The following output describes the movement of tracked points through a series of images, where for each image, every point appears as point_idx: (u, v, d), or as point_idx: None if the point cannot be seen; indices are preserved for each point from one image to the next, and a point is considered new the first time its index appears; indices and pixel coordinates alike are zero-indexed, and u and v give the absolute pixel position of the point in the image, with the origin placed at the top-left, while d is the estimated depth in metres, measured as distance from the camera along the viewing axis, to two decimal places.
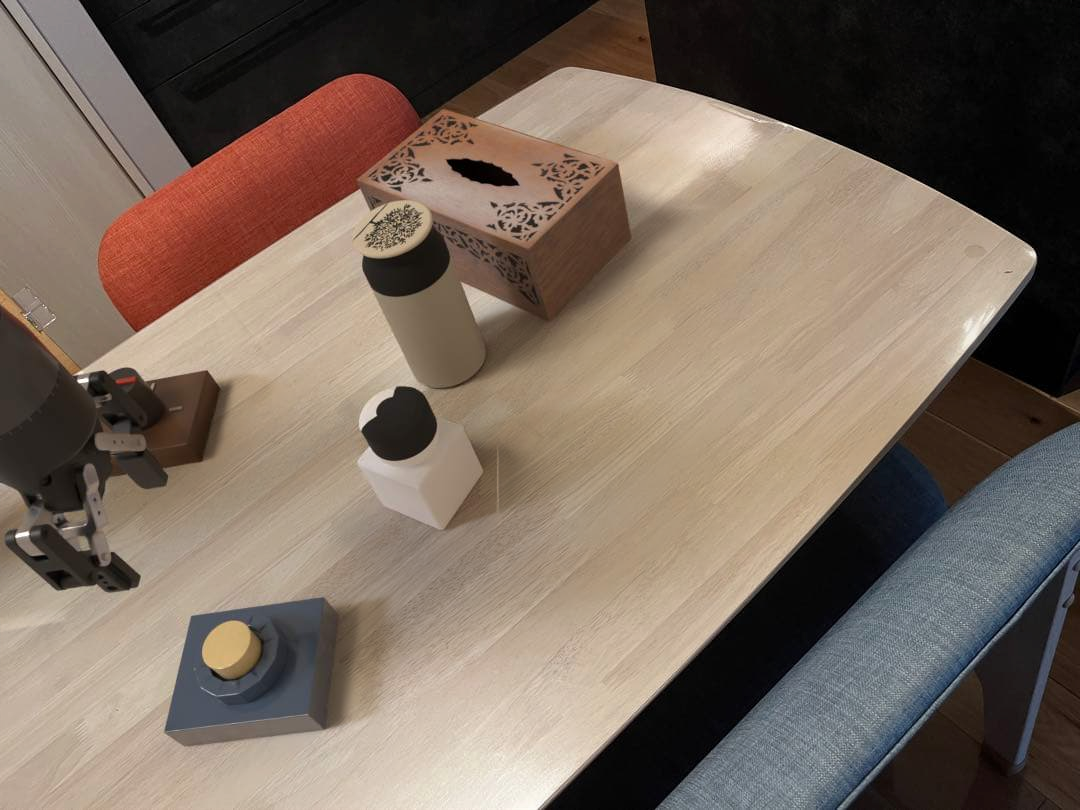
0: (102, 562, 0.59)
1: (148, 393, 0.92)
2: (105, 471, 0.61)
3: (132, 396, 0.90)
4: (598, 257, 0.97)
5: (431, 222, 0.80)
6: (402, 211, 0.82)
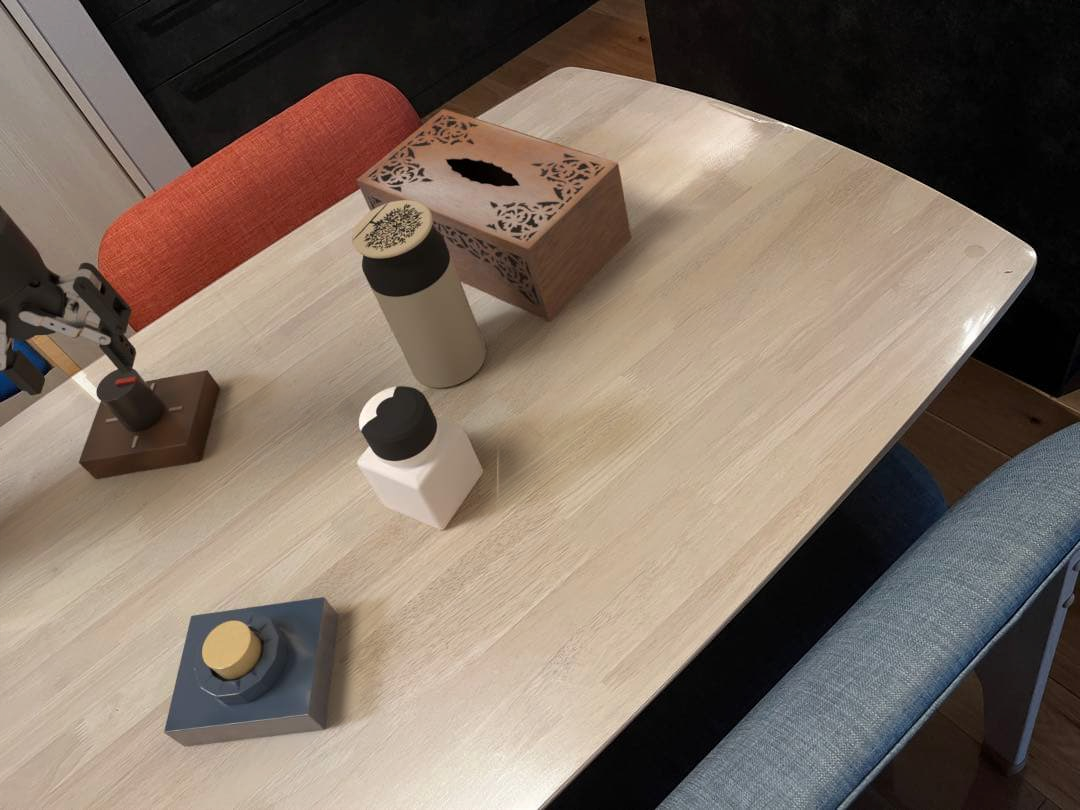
0: None
1: (148, 393, 0.92)
2: (38, 331, 0.74)
3: (132, 396, 0.90)
4: (598, 257, 0.97)
5: (431, 222, 0.80)
6: (402, 211, 0.82)
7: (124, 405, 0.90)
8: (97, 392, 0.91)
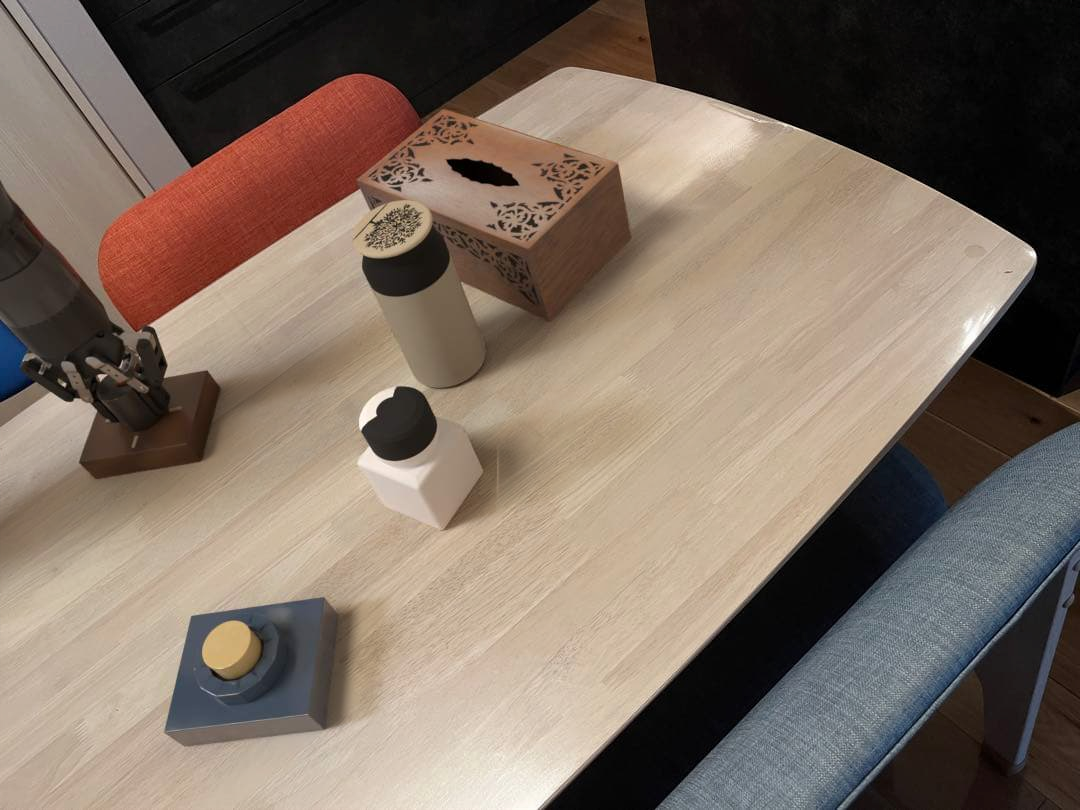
0: (82, 399, 0.91)
1: None
2: (100, 371, 0.88)
3: (132, 396, 0.90)
4: (598, 257, 0.97)
5: (431, 222, 0.80)
6: (402, 211, 0.82)
7: (124, 405, 0.90)
8: (97, 392, 0.91)
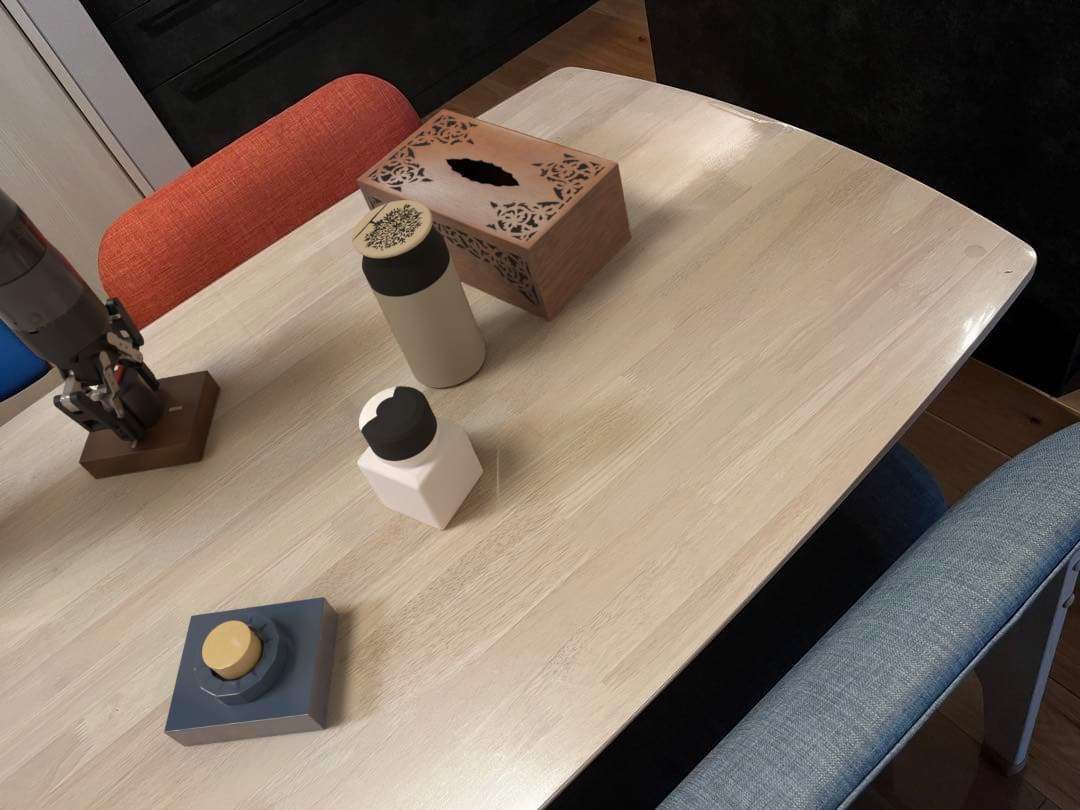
0: (119, 415, 0.88)
1: None
2: (114, 360, 0.89)
3: None
4: (598, 257, 0.97)
5: (431, 222, 0.80)
6: (402, 211, 0.82)
7: (144, 382, 0.92)
8: None
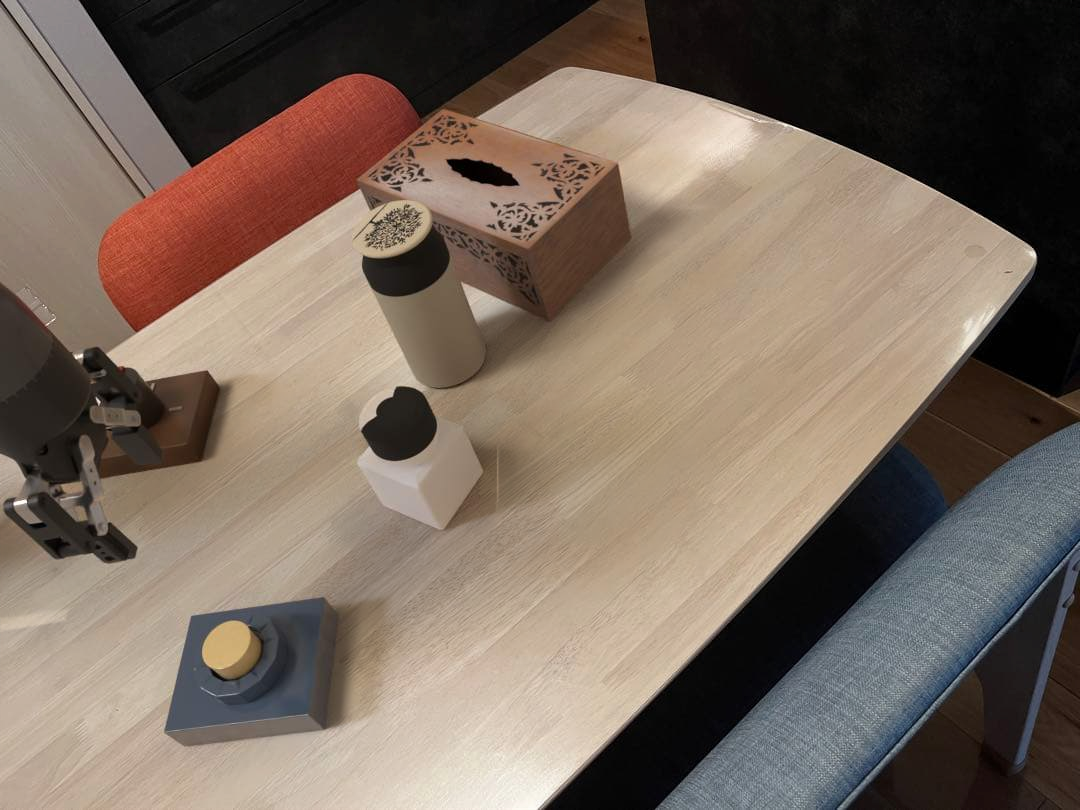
0: (99, 531, 0.61)
1: None
2: (101, 444, 0.63)
3: None
4: (598, 257, 0.97)
5: (431, 222, 0.80)
6: (402, 211, 0.82)
7: (144, 382, 0.92)
8: None
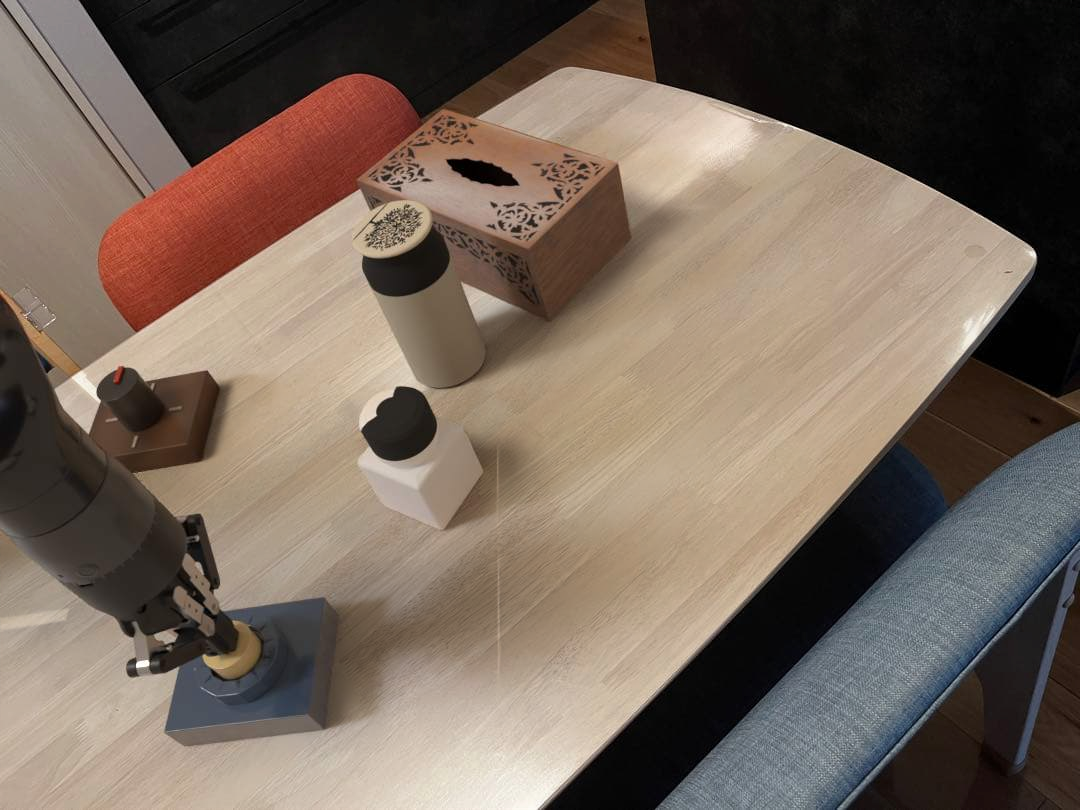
0: (208, 632, 0.66)
1: None
2: (189, 588, 0.65)
3: None
4: (598, 257, 0.97)
5: (431, 222, 0.80)
6: (402, 211, 0.82)
7: (144, 382, 0.92)
8: (118, 397, 0.90)
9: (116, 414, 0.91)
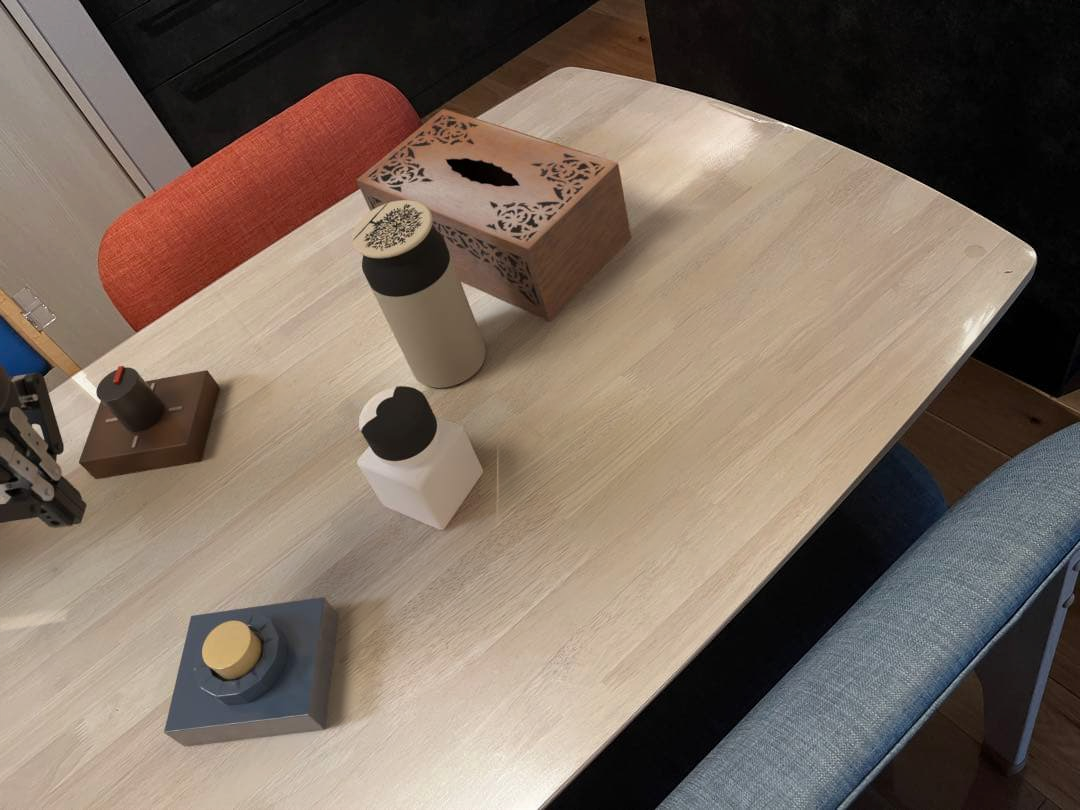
0: (45, 496, 0.62)
1: None
2: (22, 446, 0.61)
3: None
4: (598, 257, 0.97)
5: (431, 222, 0.80)
6: (402, 211, 0.82)
7: (144, 382, 0.92)
8: (118, 397, 0.90)
9: (116, 414, 0.91)
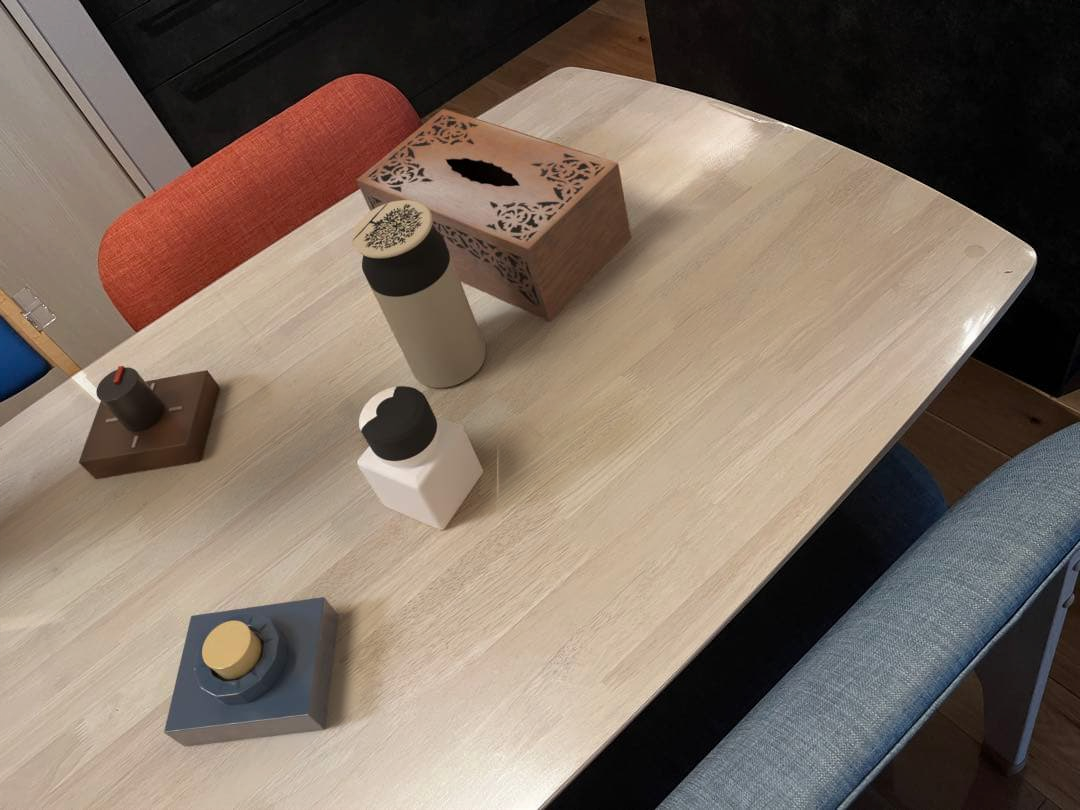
0: None
1: None
2: None
3: None
4: (598, 257, 0.97)
5: (431, 222, 0.80)
6: (402, 211, 0.82)
7: (144, 382, 0.92)
8: (118, 397, 0.90)
9: (116, 414, 0.91)
